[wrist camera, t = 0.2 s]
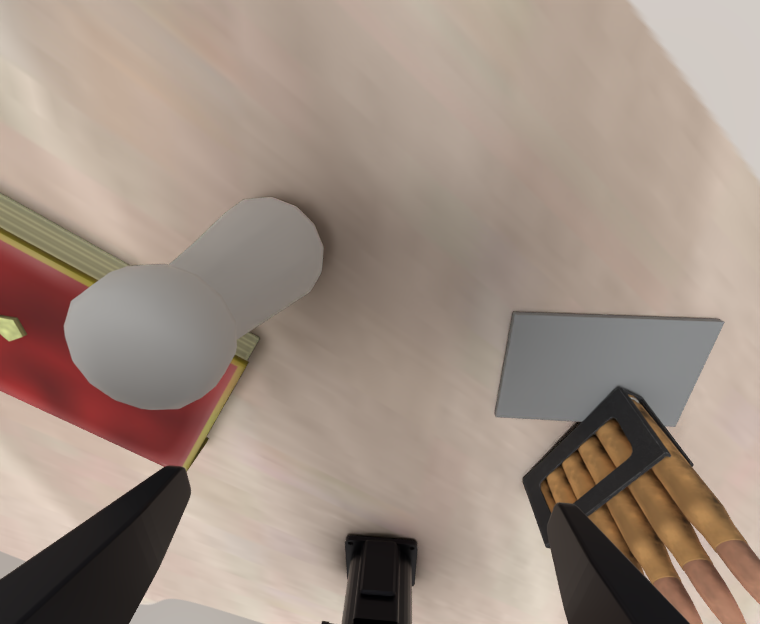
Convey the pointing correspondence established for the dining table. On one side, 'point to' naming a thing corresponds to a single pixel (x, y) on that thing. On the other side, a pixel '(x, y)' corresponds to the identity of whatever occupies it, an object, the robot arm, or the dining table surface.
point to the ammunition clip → (646, 504)
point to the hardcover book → (51, 353)
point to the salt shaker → (192, 306)
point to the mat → (601, 363)
